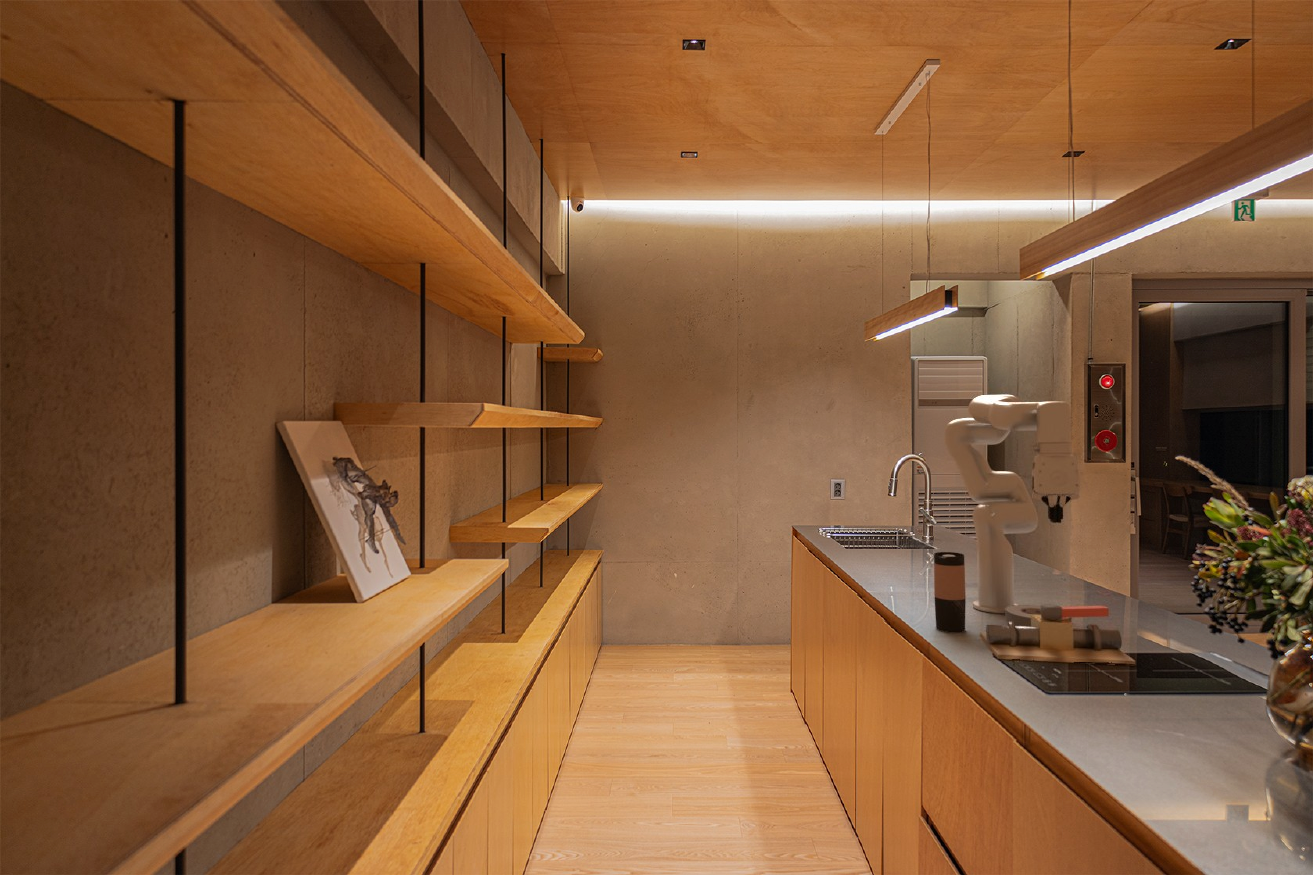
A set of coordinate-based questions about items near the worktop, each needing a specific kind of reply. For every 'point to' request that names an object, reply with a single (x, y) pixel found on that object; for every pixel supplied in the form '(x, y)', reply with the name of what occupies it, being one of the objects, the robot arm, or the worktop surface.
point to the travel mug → (949, 591)
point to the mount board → (1057, 653)
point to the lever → (1072, 611)
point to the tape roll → (1023, 614)
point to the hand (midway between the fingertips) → (1055, 522)
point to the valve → (1053, 635)
